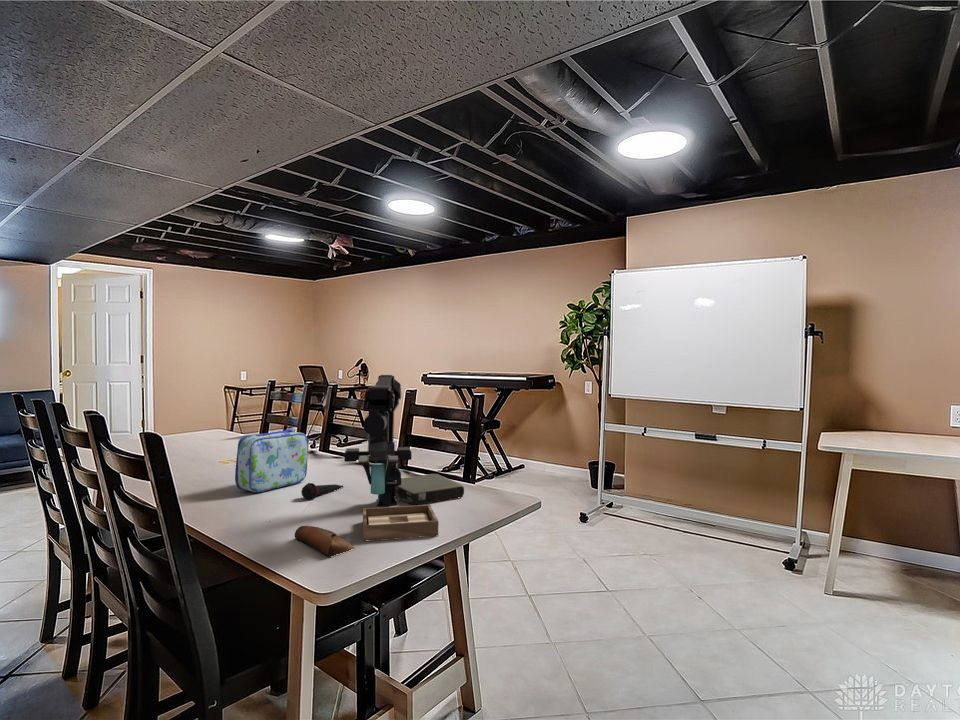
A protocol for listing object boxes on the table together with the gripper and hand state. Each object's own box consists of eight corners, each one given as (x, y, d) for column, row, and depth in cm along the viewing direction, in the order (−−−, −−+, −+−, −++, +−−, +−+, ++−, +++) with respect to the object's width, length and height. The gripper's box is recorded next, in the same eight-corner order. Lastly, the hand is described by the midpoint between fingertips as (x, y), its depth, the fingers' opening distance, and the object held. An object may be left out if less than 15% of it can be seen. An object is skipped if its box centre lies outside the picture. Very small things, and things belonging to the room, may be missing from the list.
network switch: (379, 494, 178) (379, 480, 178) (431, 484, 194) (431, 471, 194) (416, 510, 161) (416, 494, 161) (470, 497, 177) (470, 483, 177)
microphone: (338, 495, 186) (299, 502, 168) (336, 480, 188) (296, 485, 170) (349, 492, 184) (311, 499, 166) (347, 477, 186) (309, 482, 168)
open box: (362, 522, 147) (363, 508, 147) (429, 517, 152) (429, 504, 152) (363, 541, 131) (364, 526, 131) (438, 535, 136) (438, 521, 136)
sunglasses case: (358, 548, 126) (347, 529, 124) (337, 569, 122) (325, 550, 119) (322, 531, 138) (311, 513, 136) (301, 550, 134) (290, 531, 132)
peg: (370, 491, 144) (370, 463, 144) (384, 490, 145) (384, 463, 145) (370, 494, 141) (370, 466, 141) (384, 494, 141) (385, 466, 141)
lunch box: (292, 478, 200) (293, 426, 200) (311, 481, 194) (311, 428, 194) (231, 492, 177) (232, 433, 177) (250, 496, 172) (251, 436, 172)
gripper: (343, 434, 133) (342, 492, 133) (413, 433, 137) (412, 489, 137) (345, 429, 144) (345, 482, 144) (410, 428, 148) (409, 480, 148)
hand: (377, 484), depth 143 cm, fingers closed on peg, 4 cm apart
